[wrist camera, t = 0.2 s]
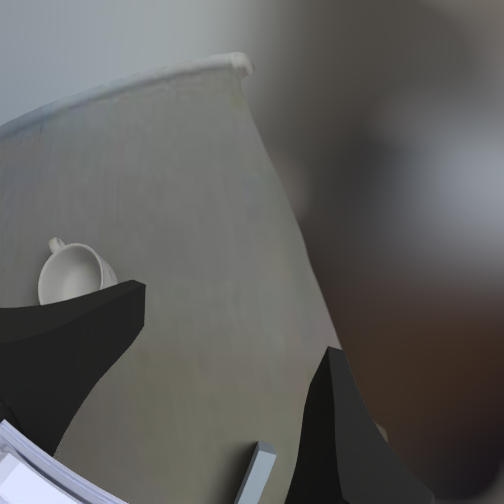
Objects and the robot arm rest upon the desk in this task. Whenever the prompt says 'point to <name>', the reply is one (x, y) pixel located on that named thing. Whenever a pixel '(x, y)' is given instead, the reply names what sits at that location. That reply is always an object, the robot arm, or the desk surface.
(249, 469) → the rectangular block
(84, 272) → the teacup
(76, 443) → the desk surface
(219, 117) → the desk surface
